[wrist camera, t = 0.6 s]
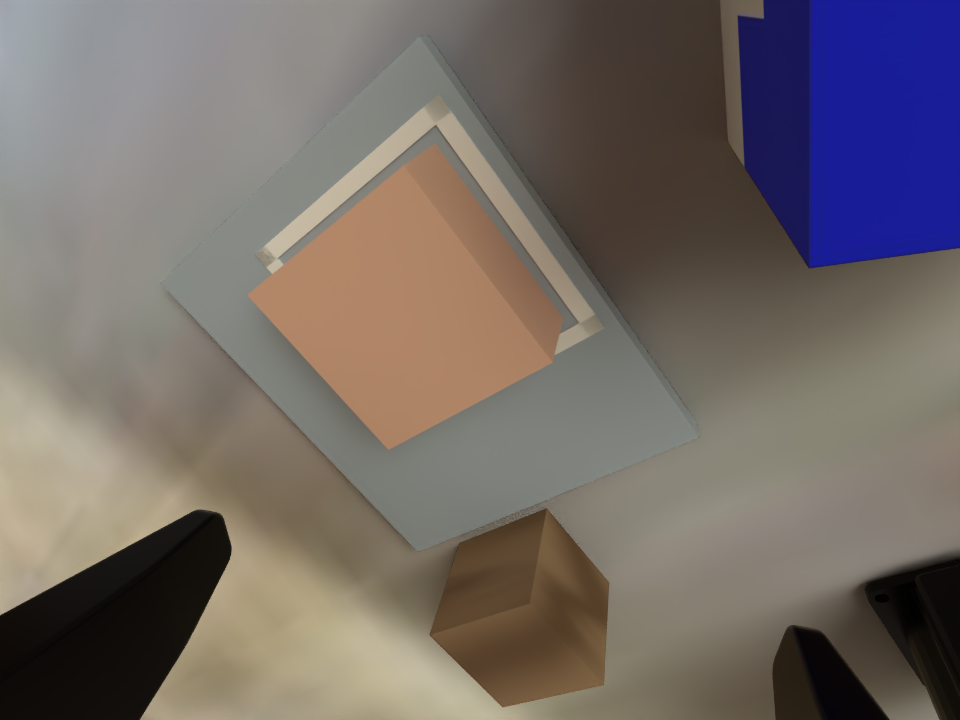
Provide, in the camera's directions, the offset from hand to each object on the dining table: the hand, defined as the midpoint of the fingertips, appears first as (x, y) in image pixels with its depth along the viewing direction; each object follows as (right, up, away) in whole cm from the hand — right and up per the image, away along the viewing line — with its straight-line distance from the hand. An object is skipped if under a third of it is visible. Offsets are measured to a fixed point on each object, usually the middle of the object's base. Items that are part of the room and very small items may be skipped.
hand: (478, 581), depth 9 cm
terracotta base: (-2, +6, +12) cm, 13 cm away
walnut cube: (+3, -6, +19) cm, 20 cm away
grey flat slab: (-2, +4, +14) cm, 15 cm away
